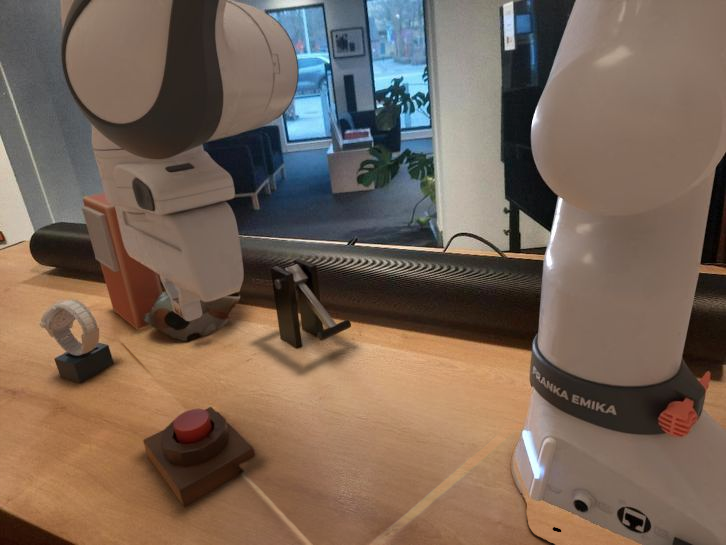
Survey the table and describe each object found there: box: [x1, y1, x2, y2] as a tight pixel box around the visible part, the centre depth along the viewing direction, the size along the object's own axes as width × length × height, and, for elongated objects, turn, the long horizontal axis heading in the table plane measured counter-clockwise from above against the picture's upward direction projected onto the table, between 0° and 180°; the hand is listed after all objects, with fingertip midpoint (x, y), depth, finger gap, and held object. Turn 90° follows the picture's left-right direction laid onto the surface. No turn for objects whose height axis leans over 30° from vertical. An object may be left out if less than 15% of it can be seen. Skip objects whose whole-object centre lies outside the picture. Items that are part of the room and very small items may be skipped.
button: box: [173, 408, 212, 444], centre depth 52 cm, size 4×4×2 cm
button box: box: [142, 406, 256, 508], centre depth 53 cm, size 10×8×4 cm
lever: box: [284, 264, 352, 342], centre depth 69 cm, size 12×5×2 cm
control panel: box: [81, 192, 163, 330], centre depth 85 cm, size 21×7×15 cm
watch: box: [39, 298, 115, 384], centre depth 70 cm, size 6×8×11 cm
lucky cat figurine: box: [143, 289, 241, 342], centre depth 81 cm, size 15×12×14 cm
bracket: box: [270, 258, 324, 350], centre depth 73 cm, size 12×9×13 cm
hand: (188, 315), depth 49 cm, fingers closed
